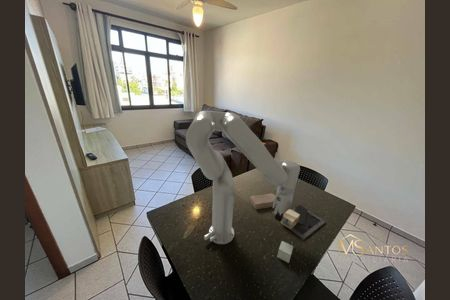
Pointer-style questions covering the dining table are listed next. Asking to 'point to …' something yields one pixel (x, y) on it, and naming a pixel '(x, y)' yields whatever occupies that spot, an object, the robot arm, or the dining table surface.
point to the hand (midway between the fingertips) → (278, 219)
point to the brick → (262, 201)
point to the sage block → (285, 251)
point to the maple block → (290, 218)
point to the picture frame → (306, 222)
